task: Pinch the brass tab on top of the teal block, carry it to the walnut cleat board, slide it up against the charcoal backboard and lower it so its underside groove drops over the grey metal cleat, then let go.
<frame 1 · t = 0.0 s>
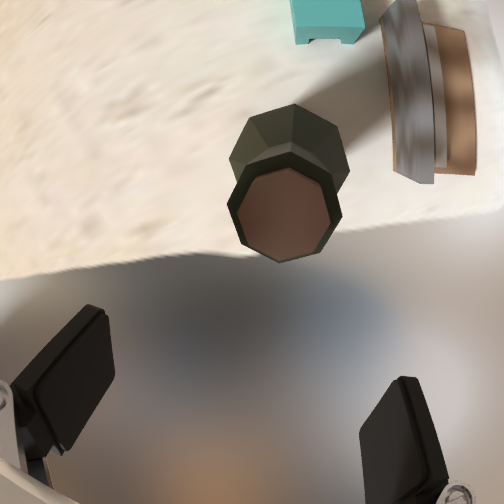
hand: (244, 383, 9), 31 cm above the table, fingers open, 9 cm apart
wall board: (432, 95, 30), on the table
wine bottle: (291, 149, 36), on the table
teal block: (319, 9, 28), on the table
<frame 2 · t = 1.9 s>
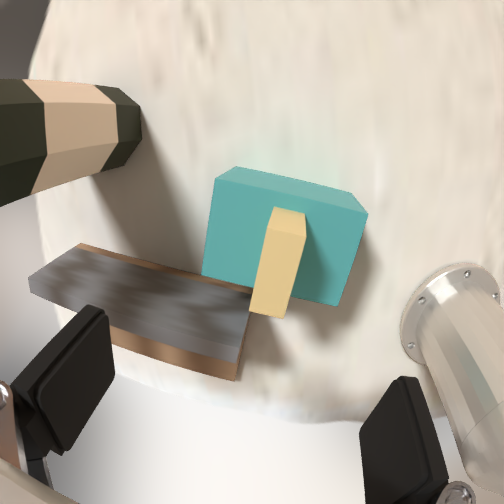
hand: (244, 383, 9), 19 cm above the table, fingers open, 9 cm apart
wall board: (156, 312, 33), on the table
wine bottle: (108, 129, 26), on the table
teal block: (285, 217, 27), on the table
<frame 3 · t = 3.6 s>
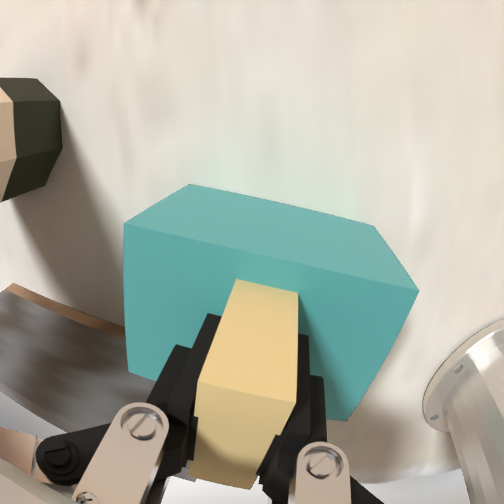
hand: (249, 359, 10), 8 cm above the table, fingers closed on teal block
wall board: (107, 372, 23), on the table
wine bottle: (26, 135, 16), on the table
teal block: (268, 264, 17), on the table, touching gripper
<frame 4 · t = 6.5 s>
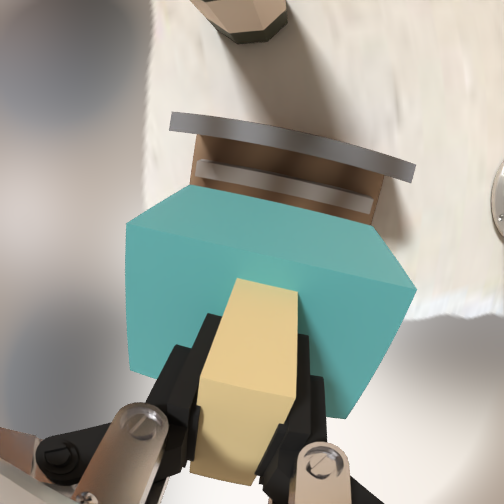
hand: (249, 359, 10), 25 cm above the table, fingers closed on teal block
wall board: (284, 185, 33), on the table
wine bottle: (250, 13, 26), on the table
teal block: (268, 263, 17), point 17 cm above the table, touching gripper
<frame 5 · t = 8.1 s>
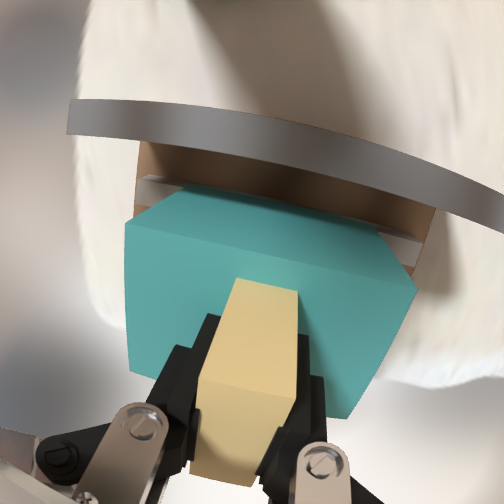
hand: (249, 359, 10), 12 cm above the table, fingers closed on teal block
wall board: (280, 215, 21), on the table
teal block: (268, 263, 17), point 4 cm above the table, touching gripper
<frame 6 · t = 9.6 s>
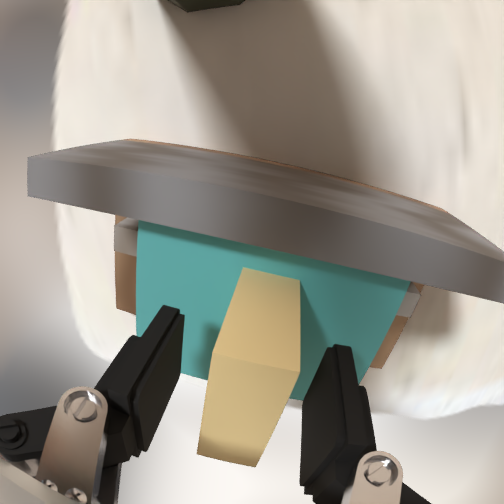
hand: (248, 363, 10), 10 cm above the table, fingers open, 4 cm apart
wall board: (268, 260, 20), on the table
teal block: (270, 257, 18), point 1 cm above the table, touching wall board
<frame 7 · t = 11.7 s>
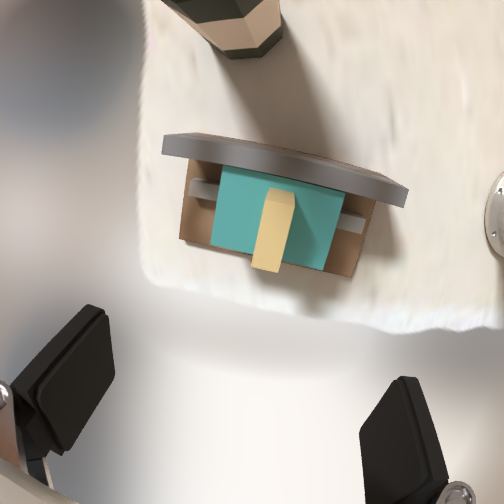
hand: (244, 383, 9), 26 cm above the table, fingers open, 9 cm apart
wall board: (277, 203, 33), on the table
wine bottle: (244, 27, 26), on the table
teal block: (278, 200, 32), point 1 cm above the table, touching wall board
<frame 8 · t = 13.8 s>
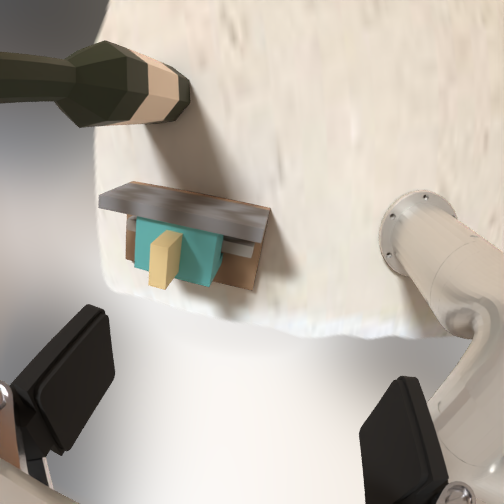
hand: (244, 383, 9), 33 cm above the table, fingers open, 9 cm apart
wall board: (192, 233, 44), on the table
wine bottle: (163, 95, 37), on the table
teal block: (190, 232, 42), point 1 cm above the table, touching wall board
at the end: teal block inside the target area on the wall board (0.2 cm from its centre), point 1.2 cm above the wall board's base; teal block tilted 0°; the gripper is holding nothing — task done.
